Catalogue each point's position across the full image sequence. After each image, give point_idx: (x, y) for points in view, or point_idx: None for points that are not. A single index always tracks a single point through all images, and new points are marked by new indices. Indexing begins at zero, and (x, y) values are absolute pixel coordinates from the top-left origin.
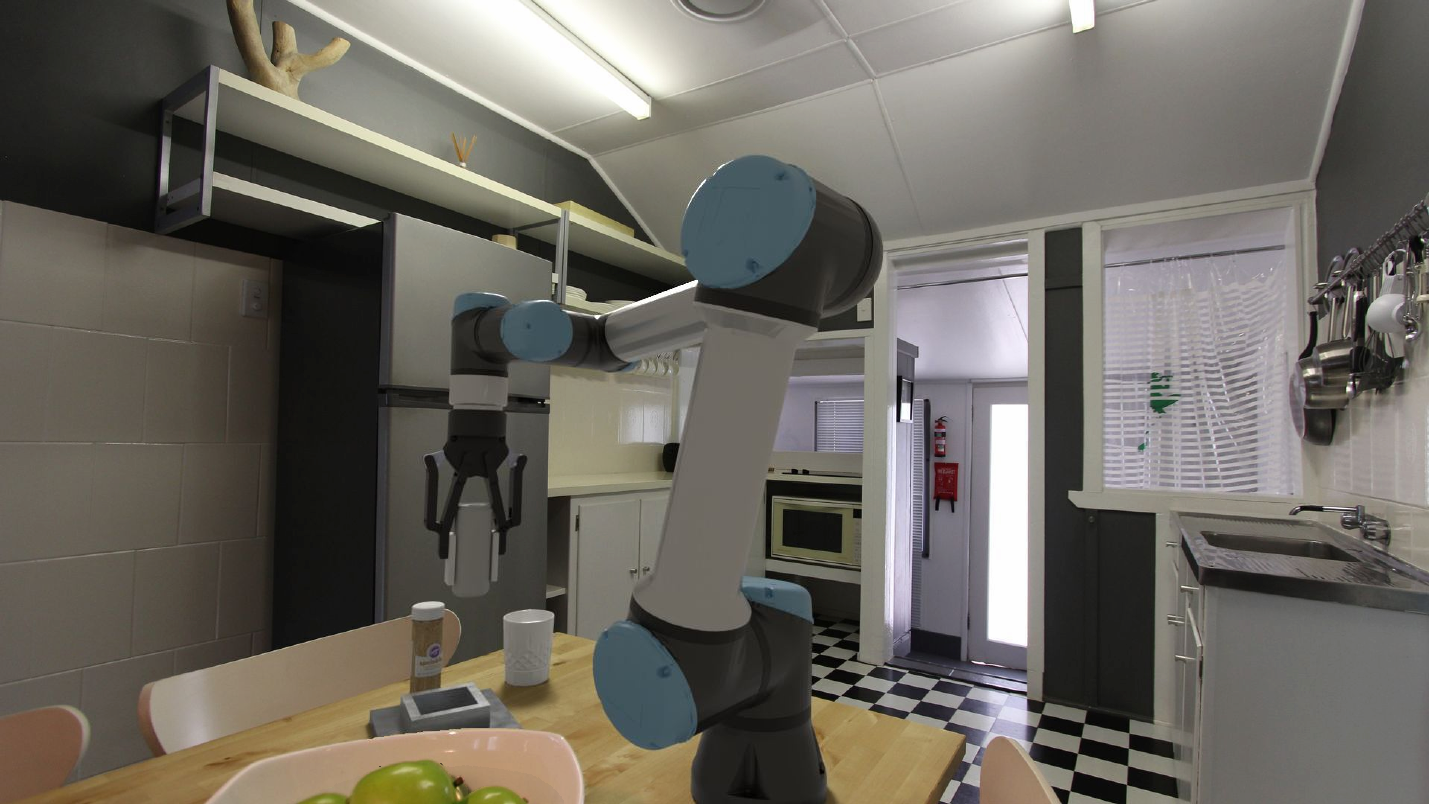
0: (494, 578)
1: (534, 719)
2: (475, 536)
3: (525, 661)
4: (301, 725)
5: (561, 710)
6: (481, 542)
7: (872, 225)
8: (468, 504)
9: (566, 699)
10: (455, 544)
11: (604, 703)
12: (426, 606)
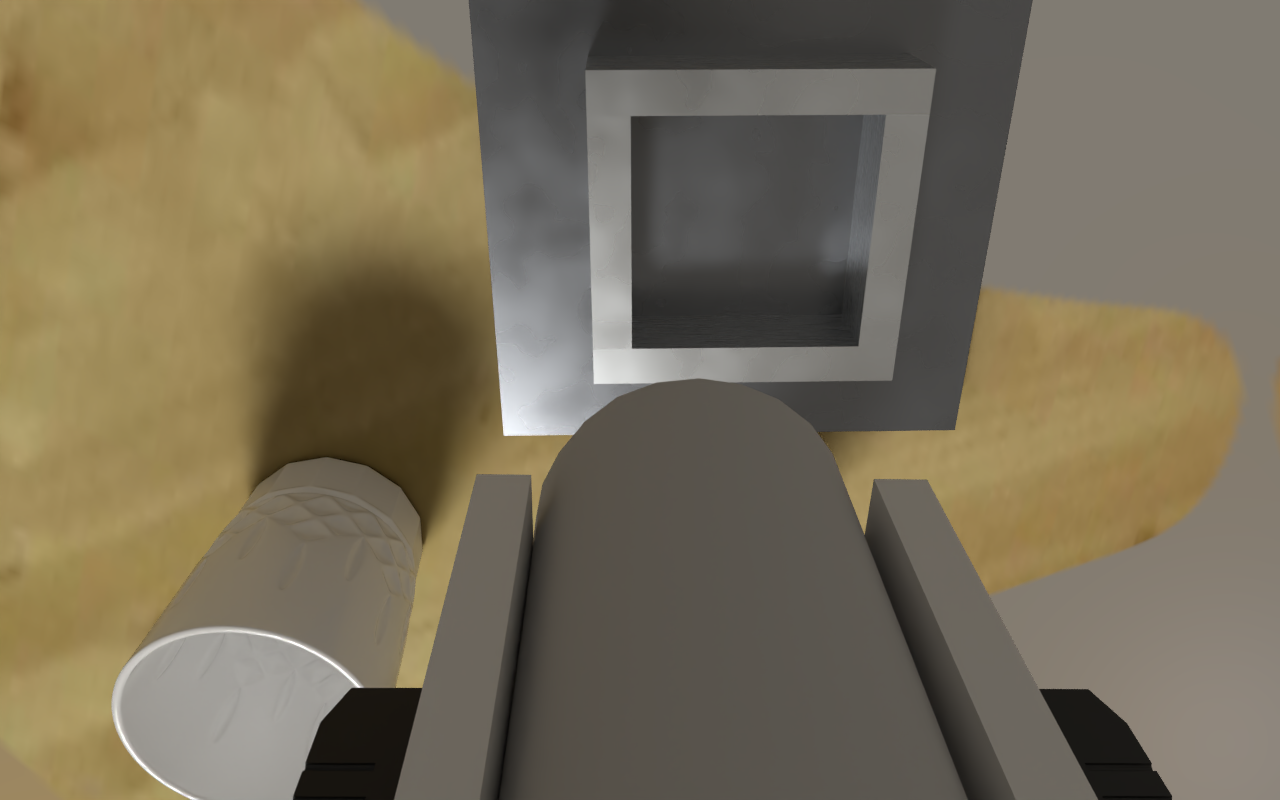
0: (500, 492)
1: (379, 127)
2: None
3: (332, 517)
4: (1126, 483)
5: (250, 160)
6: (679, 734)
7: None
8: None
9: (210, 263)
10: (1014, 792)
11: None
12: None
